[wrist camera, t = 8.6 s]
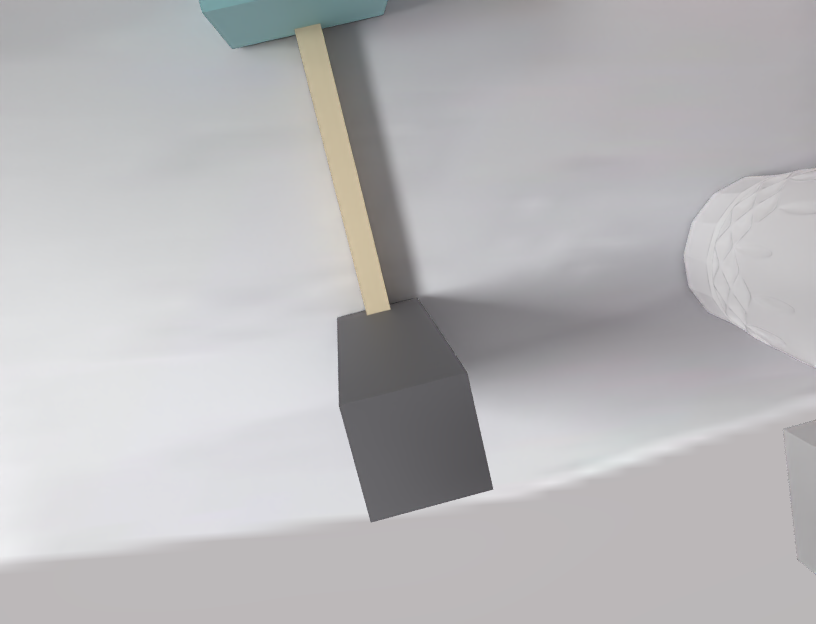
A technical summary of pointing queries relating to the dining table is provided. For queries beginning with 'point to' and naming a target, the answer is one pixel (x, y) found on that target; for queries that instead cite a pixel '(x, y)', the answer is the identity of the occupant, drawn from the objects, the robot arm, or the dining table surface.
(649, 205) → the dining table surface
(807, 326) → the white cup
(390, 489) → the double-ended block stick
